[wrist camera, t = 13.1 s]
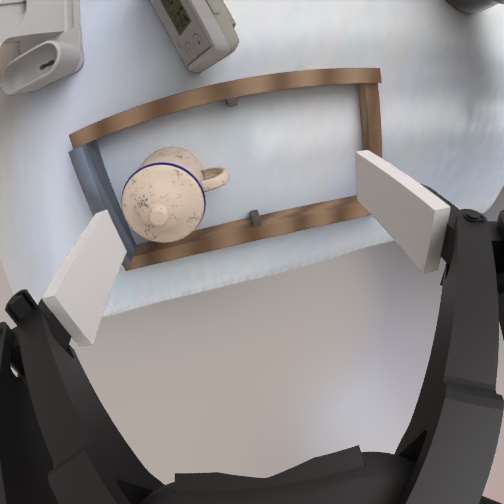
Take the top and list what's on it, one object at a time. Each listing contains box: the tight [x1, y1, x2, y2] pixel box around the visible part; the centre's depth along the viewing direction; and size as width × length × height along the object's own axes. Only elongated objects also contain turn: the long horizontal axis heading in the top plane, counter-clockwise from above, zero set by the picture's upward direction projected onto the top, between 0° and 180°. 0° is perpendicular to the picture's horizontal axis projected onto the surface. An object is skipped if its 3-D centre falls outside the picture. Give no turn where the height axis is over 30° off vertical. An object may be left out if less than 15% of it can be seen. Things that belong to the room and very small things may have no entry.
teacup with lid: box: [122, 147, 230, 243], centre depth 31 cm, size 12×9×12 cm
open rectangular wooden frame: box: [69, 68, 382, 271], centre depth 34 cm, size 39×21×4 cm, turn 100°
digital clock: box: [150, 0, 239, 73], centre depth 20 cm, size 16×9×11 cm, turn 12°
